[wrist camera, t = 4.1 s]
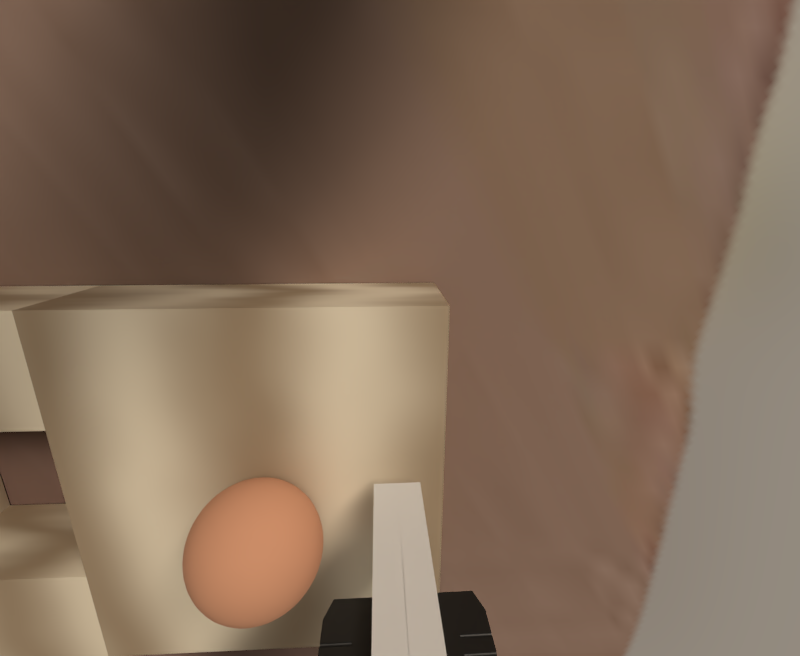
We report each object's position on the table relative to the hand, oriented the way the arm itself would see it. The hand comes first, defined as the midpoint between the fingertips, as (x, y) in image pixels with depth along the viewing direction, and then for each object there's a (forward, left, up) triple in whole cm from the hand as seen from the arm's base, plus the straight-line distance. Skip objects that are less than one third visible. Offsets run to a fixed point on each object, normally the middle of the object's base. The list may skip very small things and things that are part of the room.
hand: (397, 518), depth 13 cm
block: (-9, 0, -5) cm, 11 cm away
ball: (-4, 0, +1) cm, 4 cm away
